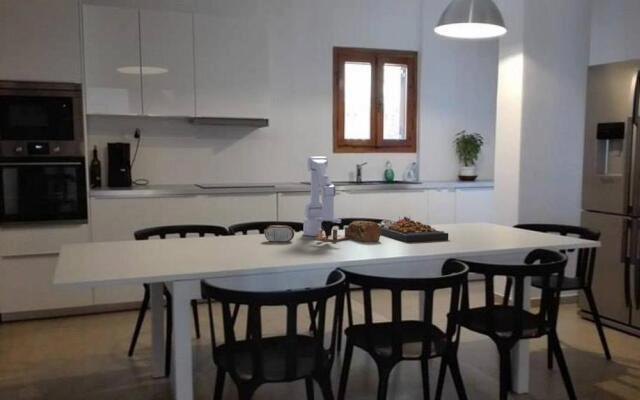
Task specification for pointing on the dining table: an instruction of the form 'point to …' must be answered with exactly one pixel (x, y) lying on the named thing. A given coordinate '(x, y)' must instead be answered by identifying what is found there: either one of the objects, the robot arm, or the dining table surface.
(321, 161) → the robot arm
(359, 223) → the bread
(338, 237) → the stool frame
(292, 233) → the tin
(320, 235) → the gate leg
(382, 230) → the food platter
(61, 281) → the dining table surface
